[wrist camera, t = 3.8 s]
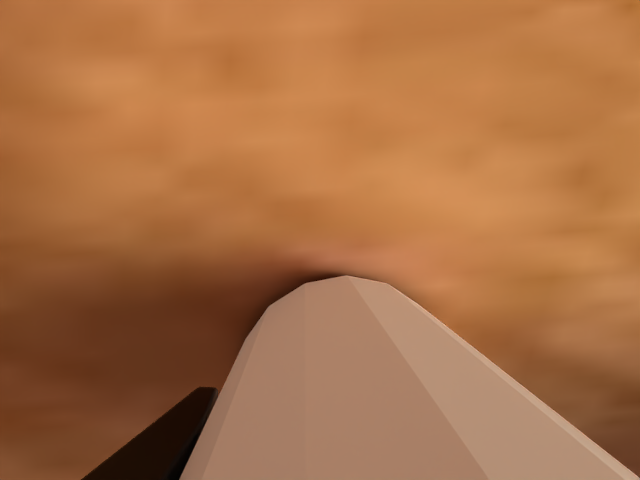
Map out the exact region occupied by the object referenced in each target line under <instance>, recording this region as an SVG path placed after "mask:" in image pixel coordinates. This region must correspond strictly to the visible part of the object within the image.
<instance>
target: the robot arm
mask: <svg viewBox="0 0 640 480" xmlns="http://www.w3.org/2000/svg"><path fill="white" fill-rule="evenodd" d="M217 399H218V390H217V388H214V387H198V388H197V389H196V390H194V391H193V392H192V393H190V394H189V395H188V396H187V397H185V398H184V399H183V400H182V401H180V402H179V403H178V404H176V405H175V406H174V407H173V408H171V409H170V410H169V411H168V412H166V413H165V414H164V415H163V416H161V417H160V418H159V419H157V420H156V421H155V422H154V423H152V424H151V425H150V426H149V427H147V428H146V429H145V430H143V431H142V432H141V433H140V434H138V435H137V436H136V437H135V438H133V439H132V440H131V441H130V442H128V443H127V444H126V445H124V446H123V447H122V448H121V449H119V450H118V451H117V452H116V453H114V454H113V455H112V456H111V457H109V458H108V459H107V460H105V461H104V462H103V463H102V464H100V465H99V466H98V467H97V468H95V469H94V470H93V471H91V472H90V473H89V474H88V475H86V476H85V477H84V478H83V479H81V480H179V479H180V477H181V475H182V473H183V471H184V468H185V466H186V464H187V462H188V460H189V458H190V456H191V454H192V451H193V449H194V447H195V445H196V443H197V441H198V439H199V437H200V435H201V432H202V430H203V428H204V426H205V424H206V422H207V420H208V418H209V415H210V413H211V411H212V409H213V407H214V405H215V403H216V401H217Z"/></svg>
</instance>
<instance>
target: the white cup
mask: <svg viewBox="0 0 640 480" xmlns="http://www.w3.org/2000/svg"><path fill="white" fill-rule="evenodd" d="M179 480H640V478H639V477H638V476H637V475H635V474H634V473H633V472H632V471H630V470H629V469H628V468H627V467H625V466H624V465H623V464H621V463H620V462H619V461H618V460H616V459H615V458H614V457H613V456H611V455H610V454H609V453H607V452H606V451H605V450H604V449H602V448H601V447H600V446H599V445H597V444H596V443H595V442H593V441H592V440H591V439H590V438H588V437H587V436H586V435H585V434H583V433H582V432H581V431H579V430H578V429H577V428H576V427H574V426H573V425H572V424H571V423H569V422H568V421H567V420H565V419H564V418H563V417H562V416H560V415H559V414H558V413H556V412H555V411H554V410H553V409H551V408H550V407H549V406H548V405H546V404H545V403H544V402H542V401H541V400H540V399H539V398H537V397H536V396H535V395H534V394H532V393H531V392H530V391H528V390H527V389H526V388H525V387H523V386H522V385H521V384H520V383H518V382H517V381H516V380H514V379H513V378H512V377H511V376H509V375H508V374H507V373H506V372H504V371H503V370H502V369H500V368H499V367H498V366H497V365H495V364H494V363H493V362H492V361H490V360H489V359H488V358H486V357H485V356H484V355H483V354H481V353H480V352H479V351H477V350H476V349H475V348H474V347H472V346H471V345H470V344H469V343H467V342H466V341H465V340H463V339H462V338H461V337H460V336H458V335H457V334H456V333H455V332H453V331H452V330H451V329H449V328H448V327H447V326H446V325H444V324H443V323H442V322H441V321H439V320H438V319H437V318H435V317H434V316H433V315H432V314H430V313H429V312H428V311H427V310H425V309H424V308H423V307H421V306H420V305H419V304H417V303H416V302H414V301H413V300H411V299H410V298H408V297H407V296H405V295H404V294H403V293H401V292H400V291H398V290H397V289H395V288H394V287H392V286H391V285H389V284H388V283H384V282H379V281H373V280H368V279H363V278H358V277H353V276H348V275H346V276H341V277H335V278H330V279H325V280H320V281H314V282H309V283H305V284H303V285H301V286H300V287H298V288H297V289H295V290H293V291H292V292H290V293H289V294H287V295H286V296H284V297H282V298H281V299H279V300H278V301H276V302H274V303H273V304H271V305H270V306H269V307H268V308H267V309H266V311H265V312H264V314H263V315H262V316H261V318H260V319H259V321H258V322H257V324H256V325H255V326H254V328H253V329H252V331H251V332H250V333H249V335H248V336H247V338H246V339H245V341H244V343H243V346H242V348H241V350H240V352H239V354H238V356H237V358H236V360H235V363H234V365H233V367H232V369H231V371H230V373H229V375H228V377H227V379H226V382H225V384H224V386H223V388H222V390H221V392H220V394H219V396H218V399H217V401H216V403H215V405H214V407H213V409H212V411H211V413H210V415H209V418H208V420H207V422H206V424H205V426H204V428H203V430H202V432H201V435H200V437H199V439H198V441H197V443H196V445H195V447H194V449H193V451H192V454H191V456H190V458H189V460H188V462H187V464H186V466H185V468H184V471H183V473H182V475H181V477H180V479H179Z"/></svg>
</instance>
